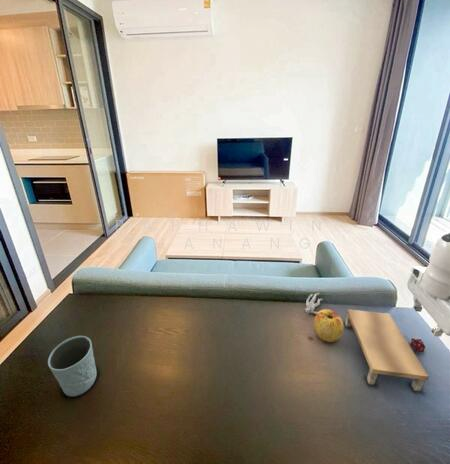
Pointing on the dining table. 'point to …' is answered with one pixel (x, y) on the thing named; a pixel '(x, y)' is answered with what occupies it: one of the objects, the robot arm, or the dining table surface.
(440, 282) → the robot arm
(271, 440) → the dining table surface
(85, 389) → the grey cup
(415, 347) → the dice
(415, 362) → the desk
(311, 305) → the soldier figure
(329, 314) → the apple
